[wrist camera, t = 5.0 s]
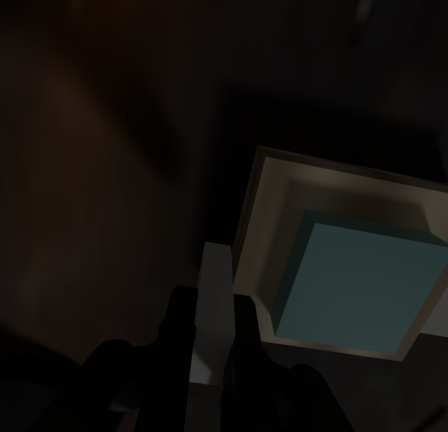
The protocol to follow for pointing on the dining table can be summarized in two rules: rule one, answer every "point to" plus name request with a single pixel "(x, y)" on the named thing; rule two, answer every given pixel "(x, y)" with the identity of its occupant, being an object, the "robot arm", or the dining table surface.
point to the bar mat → (438, 318)
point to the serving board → (334, 204)
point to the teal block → (355, 282)
